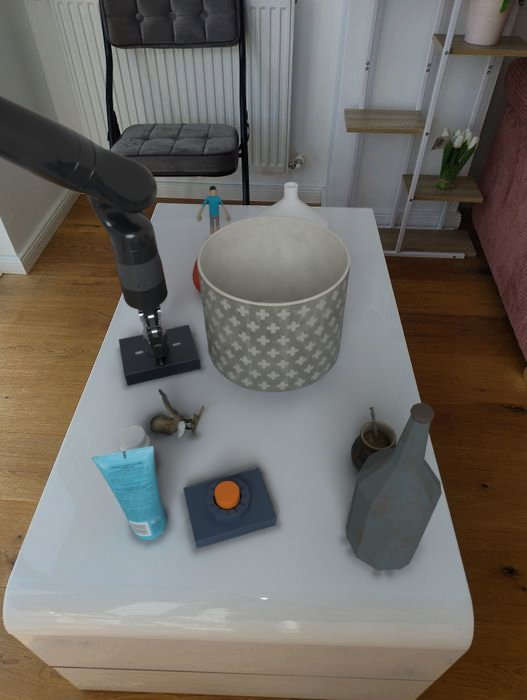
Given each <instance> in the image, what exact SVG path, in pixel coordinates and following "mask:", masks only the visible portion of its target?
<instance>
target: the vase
mask: <svg viewBox="0 0 527 700" xmlns="http://www.w3.org/2000/svg"><path fill="white" fill-rule="evenodd" d="M298 189H299V184H298V183H297V182H294V181H288V182H285V183H284V185H283V197H282V198H281V199H280V200H279V201H277V202H275V203H274V204H272V205H270V206H268V207H266V208H264V209H262V210H261V211H259V212H258V213H257V214H256V215H255V216H254V217H260V216H289V217H296V218H301V219H305V220H309V221H312V222H315V223H317V224H320V225H322V226H324V227H326V228H328V229H329V230H331V228H330V226H329V222H328V219H327V218H326V217H325V215H324V214H323V213H322V212H320V210H317V209H315V208H314V207H312V206H311V205H308V204H306V203H305V202H304V201H302V200H301V199H300V198H299V196H298V194H299V193H298V191H299V190H298Z"/></svg>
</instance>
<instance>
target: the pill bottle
mask: <svg viewBox="0 0 527 700" xmlns="http://www.w3.org/2000/svg"><path fill="white" fill-rule="evenodd" d="M118 443H119V445H118V448H119V452H120V451H126V450H131V449H137V448H142V447H148V446H152V443H151V440H150V437H149V436H148V435H147V433H146V432H145V429H144V428H143V427H142V426H140V425H138V424H131V425H127V426H125V427H124V428H122V430H120V431H119V434H118ZM154 462H155V463H156V458H155V456H154Z"/></svg>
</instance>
